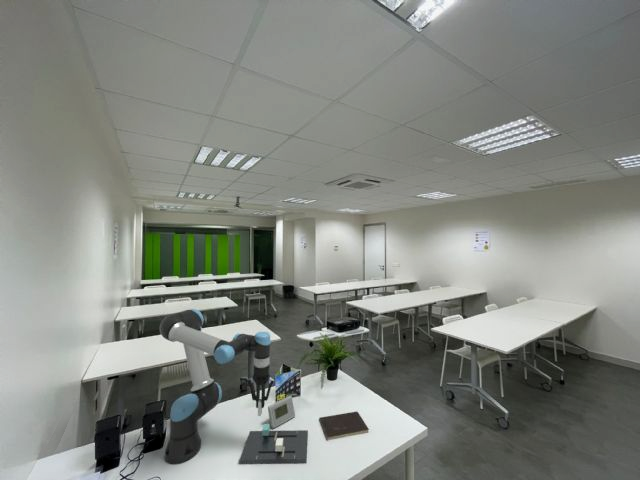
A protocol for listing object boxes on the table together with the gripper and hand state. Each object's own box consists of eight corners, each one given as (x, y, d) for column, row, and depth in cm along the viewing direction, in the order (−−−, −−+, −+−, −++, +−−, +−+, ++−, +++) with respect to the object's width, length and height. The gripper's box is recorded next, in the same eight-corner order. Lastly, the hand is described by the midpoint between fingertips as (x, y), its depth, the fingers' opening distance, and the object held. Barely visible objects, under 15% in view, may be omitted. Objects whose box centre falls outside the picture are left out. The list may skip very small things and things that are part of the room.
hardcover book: (369, 433, 131) (368, 429, 131) (326, 441, 125) (326, 437, 126) (357, 414, 147) (357, 410, 147) (319, 421, 141) (319, 416, 141)
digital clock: (270, 431, 132) (270, 410, 133) (264, 421, 140) (265, 401, 141) (298, 420, 141) (298, 400, 141) (291, 411, 149) (291, 393, 149)
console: (239, 464, 111) (239, 459, 112) (250, 435, 129) (250, 430, 130) (306, 463, 112) (306, 458, 112) (307, 434, 130) (307, 430, 130)
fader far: (262, 438, 123) (262, 430, 124) (263, 432, 128) (263, 424, 128) (268, 438, 124) (268, 430, 124) (269, 432, 128) (269, 423, 128)
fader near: (275, 455, 114) (275, 445, 114) (276, 447, 118) (276, 438, 118) (281, 454, 114) (282, 445, 114) (283, 447, 118) (283, 438, 118)
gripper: (246, 368, 119) (244, 419, 118) (273, 368, 119) (271, 419, 118) (250, 361, 127) (248, 409, 126) (276, 362, 127) (274, 409, 126)
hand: (259, 414), depth 122 cm, fingers closed
